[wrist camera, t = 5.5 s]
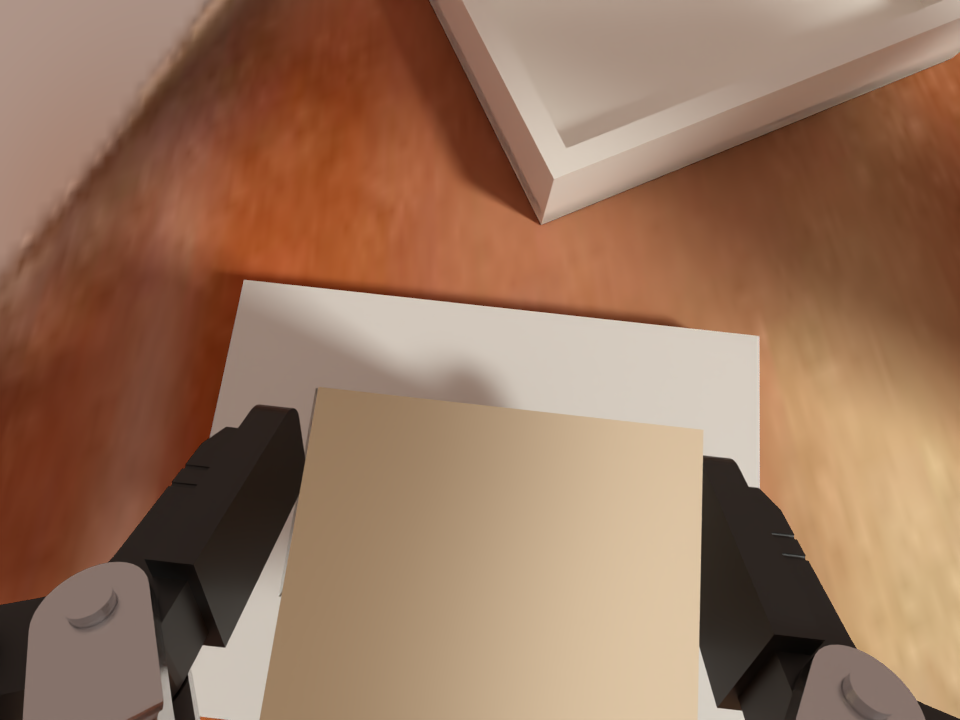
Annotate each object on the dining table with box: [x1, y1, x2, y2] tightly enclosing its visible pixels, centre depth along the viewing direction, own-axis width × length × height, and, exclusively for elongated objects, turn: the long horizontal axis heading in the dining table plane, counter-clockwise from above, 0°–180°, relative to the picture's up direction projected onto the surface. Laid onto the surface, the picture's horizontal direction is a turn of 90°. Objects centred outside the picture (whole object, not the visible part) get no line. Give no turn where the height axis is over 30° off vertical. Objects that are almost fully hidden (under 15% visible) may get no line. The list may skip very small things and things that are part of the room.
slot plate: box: [191, 280, 760, 720], centre depth 15 cm, size 16×12×2 cm
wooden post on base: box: [259, 387, 703, 720], centre depth 10 cm, size 9×4×12 cm, turn 84°
